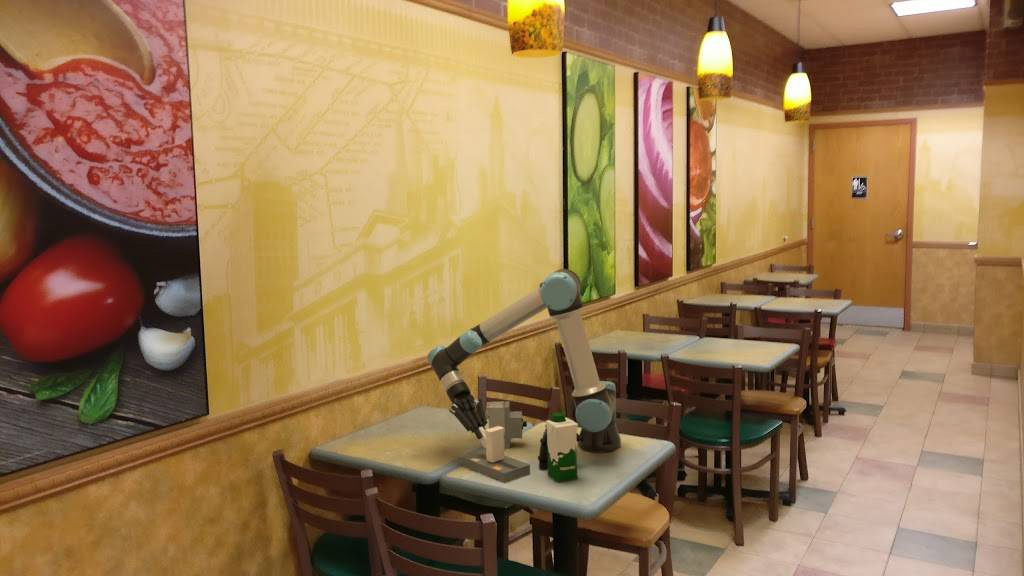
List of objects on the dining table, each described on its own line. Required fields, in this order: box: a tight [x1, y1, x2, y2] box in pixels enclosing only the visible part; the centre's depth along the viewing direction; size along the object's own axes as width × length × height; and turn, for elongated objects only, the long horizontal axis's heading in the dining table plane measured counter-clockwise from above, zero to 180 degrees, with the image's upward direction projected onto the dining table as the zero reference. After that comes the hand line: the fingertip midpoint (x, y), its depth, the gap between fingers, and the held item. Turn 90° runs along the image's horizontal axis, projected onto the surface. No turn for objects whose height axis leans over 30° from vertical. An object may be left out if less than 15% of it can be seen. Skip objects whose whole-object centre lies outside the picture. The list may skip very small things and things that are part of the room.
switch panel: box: [460, 448, 531, 484], centre depth 262 cm, size 22×11×3 cm, turn 42°
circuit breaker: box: [485, 400, 528, 450], centre depth 285 cm, size 8×14×15 cm, turn 89°
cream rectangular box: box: [484, 426, 505, 463], centre depth 261 cm, size 3×6×10 cm, turn 132°
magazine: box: [537, 424, 580, 471], centre depth 262 cm, size 4×13×15 cm, turn 99°
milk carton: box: [545, 411, 579, 483], centre depth 252 cm, size 9×9×20 cm
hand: (488, 445), depth 262 cm, fingers closed
